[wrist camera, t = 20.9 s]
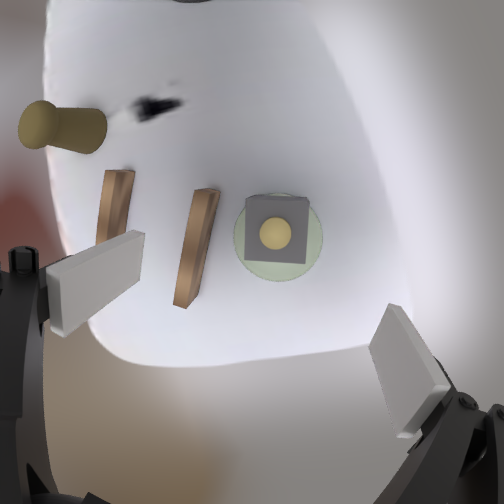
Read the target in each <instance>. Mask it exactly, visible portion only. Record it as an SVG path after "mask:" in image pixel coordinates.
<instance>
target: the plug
mask: <svg viewBox="0 0 504 504" xmlns="http://www.w3.org/2000/svg"><path fill="white" fill-rule="evenodd" d="M309 203H310V202H309V200H308V199H307V197H291V196H271V195H254V196H252V197H249V198H247V199H246V205H245V245H244V260H249V261H264V262H279V263H294V264H305V263H306V250H307V236H308V220H309Z"/></svg>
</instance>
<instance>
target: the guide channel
mask: <svg viewBox="0 0 504 504" xmlns="http://www.w3.org/2000/svg"><path fill="white" fill-rule="evenodd" d="M134 176H135V172H133V171H128V170H105V175H104V181H103V187H102V194H101V200H100V208H99V216H98V224H97V234H96V245H98V244H100V243H102V242H105V241H107V240H109V239H112V238H114V237H117V236H119V235H122V234H124V233H125V230H126V223H127V216H128V210H129V203H130V198H131V192H132V186H133V181H134ZM219 196H220V191H216V190H212V189H208V188H206V189H198V190H195V191H194V195H193V200H192V204H191V209H190V214H189V218H188V223H187V228H186V233H185V238H184V243H183V249H182V254H181V259H180V265H179V271H178V276H177V282H176V288H175V294H174V301H173V305H176V306H178V307H181V308H184V309H187V307H188V306H189V305H190V304H191V303H192V301H193V300H194V299H195V298H196V296H197V295H198V292H199V287H200V282H201V277H202V272H203V267H204V263H205V258H206V253H207V249H208V244H209V239H210V235H211V230H212V226H213V222H214V217H215V213H216V209H217V204H218V200H219Z"/></svg>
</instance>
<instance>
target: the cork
mask: <svg viewBox="0 0 504 504" xmlns="http://www.w3.org/2000/svg"><path fill="white" fill-rule="evenodd" d="M106 132H107V121H106V117H105V115H104V114H103V112H102V111H100V110H99V109H93V108H56V107H55V105H53V104H52V103H50V102H49V101H36V102H34V103H32V104H30V105H29V106H28V107H27V108H26V109H25V110H24V112H23V114H22V116H21V118H20V121H19V125H18V136H19V139H20V141H21V143H22V144H23V145H24V146H25V147H27V148H30V149H39V148H42V147H45V146H46V145H50V146H54V147H59V148H63V149H67V150H71V151H75V152H78V153H83V154H90V153H93V152H94V151H96V150H97V149H98V148H99V147H100V146H101V145H102V143H103V141H104V139H105V136H106Z"/></svg>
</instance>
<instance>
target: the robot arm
mask: <svg viewBox="0 0 504 504" xmlns="http://www.w3.org/2000/svg"><path fill="white" fill-rule="evenodd" d="M175 1H180V2H201V1H207V0H175ZM144 239H145V233H142V232H139V231H136V230H131V231H129V232H126V233H124V234H122V235H119V236H117V237H114V238H112V239H109V240H107V241H105V242H102V243H100V244H98V245H95V246H93V247H91V248H88V249H86V250H84V251H81V252H79V253H77V254H75V255H69V256H67V257H65V258H62V259H61V260H58V261H56V262H55V263H52V264H49V265H47V266H45V267H43V268H41V269H39V257H38V250H37V249H36V248H33V247H30V246H19V247H14V248H12V249H11V250H10V251H9V252H8V254H9V270H10V272H9V273H8V272H4V271H1V265H0V504H110V503H108V502H106V501H104V500H102V499H101V498H99V497H97V496H95V495H93V494H91V493H90V492H88V493H87V495H86V496H85V498H84V499H83V498H80V497H75V496H71V495H64V494H59V492H58V489H57V486H56V484H55V481H54V479H53V476H52V472H51V468H50V462H49V455H48V448H47V441H46V432H45V421H44V405H43V345H44V323H43V322H44V321H46V320H47V319H49V318H50V327H51V331H53V332H54V333H56V334H58V335H60V336H61V337H63V338H65V337H66V336H68V335H69V334H70V333H71V332H73V331H74V330H75V329H76V328H78V327H79V326H80V325H82V324H83V323H84V322H85V321H87V320H88V319H89V318H90V317H92V316H93V315H94V314H96V313H97V312H98V311H100V310H101V309H102V308H103V307H105V306H106V305H107V304H109V303H110V302H111V301H113V300H114V299H115V298H117V297H118V296H119V295H121V294H122V293H123V292H125V291H126V290H127V289H129V288H130V287H131V286H133V285H134V284H135V283H137V282H138V281H139V280H140V272H141V263H142V254H143V247H144ZM369 350H370V353H371V356H372V359H373V362H374V365H375V368H376V371H377V374H378V378H379V381H380V384H381V387H382V390H383V394H384V397H385V400H386V403H387V407H388V410H389V414H390V417H391V421H392V424H393V427H394V432H395V435H396V437H398V438H412V437H413V436H414V434H415V433H416V432H417V431H418V430H419V429H420V428H421V431H422V434H423V435H422V436H421V437H420V438H419V440H418V441H417V442H416V443H415V444H414V445H413V446H412V447H411V449H410V450H409V451H408V452H407V453H408V454H409V453H410V454H409V455H408V457H407V458H406V460H405V461H404V463H403V464H402V466H401V467H400V469H399V471H397V473H396V474H395V476H394V477H393V479H392V480H391V481H390V483H389V484H388V485H387V487H386V488H385V489H384V491H383V492H382V493H381V494H380V496H379V497H378V498H377V499H376V501H375V502H374V503H373V504H504V406H502V405H500V404H494V405H493V406H492V407H491V409H490V410H489V411H488V413H486V412H483V411H480V410H478V409H479V407H478V404H477V402H476V401H475V400H474V399H473V398H472V397H471V396H470V395H468V394H466V393H463V392H457V390H456V388H455V387H454V385H453V383H452V381H451V380H450V378H449V377H448V375H447V373H446V372H445V371H444V368H443V366H442V365H441V363H440V362H439V361H438V360H437V359H436V358H435V357H434V356H433V355H432V353H431V352H430V350H429V349H428V347H427V346H426V344H425V342H424V341H423V339H422V338H421V336H420V334H419V333H418V331H417V330H416V328H415V327H414V325H413V324H412V322H411V321H410V319H409V318H408V316H407V315H406V313H405V312H404V310H403V309H402V307H401V306H397V305H394V304H390V303H389V304H388V306H387V308H386V311H385V313H384V315H383V317H382V320H381V322H380V324H379V326H378V328H377V330H376V332H375V334H374V336H373V338H372V340H371V343H370V345H369ZM484 454H485V455H484ZM483 455H484V456H483ZM482 456H483V458H482Z"/></svg>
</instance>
